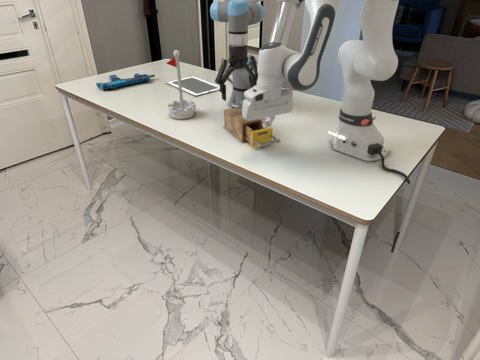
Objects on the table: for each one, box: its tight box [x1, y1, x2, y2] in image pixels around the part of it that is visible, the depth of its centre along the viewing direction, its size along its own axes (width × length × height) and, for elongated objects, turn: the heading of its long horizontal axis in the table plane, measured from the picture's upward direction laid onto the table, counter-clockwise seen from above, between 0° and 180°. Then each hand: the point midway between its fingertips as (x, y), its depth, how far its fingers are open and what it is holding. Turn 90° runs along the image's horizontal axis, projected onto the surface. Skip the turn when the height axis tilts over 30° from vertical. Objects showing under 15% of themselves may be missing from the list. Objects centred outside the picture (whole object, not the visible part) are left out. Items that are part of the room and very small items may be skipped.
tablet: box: [165, 75, 220, 97], centre depth 203 cm, size 32×20×1 cm, turn 41°
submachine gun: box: [95, 73, 156, 91], centre depth 209 cm, size 34×4×25 cm
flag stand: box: [165, 49, 197, 120], centre depth 157 cm, size 13×13×30 cm
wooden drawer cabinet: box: [223, 106, 263, 143], centre depth 147 cm, size 17×10×8 cm, turn 28°
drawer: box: [244, 122, 281, 148], centre depth 138 cm, size 22×9×6 cm, turn 28°
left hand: (238, 97), depth 144 cm, fingers open, 13 cm apart
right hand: (267, 126), depth 129 cm, fingers closed
